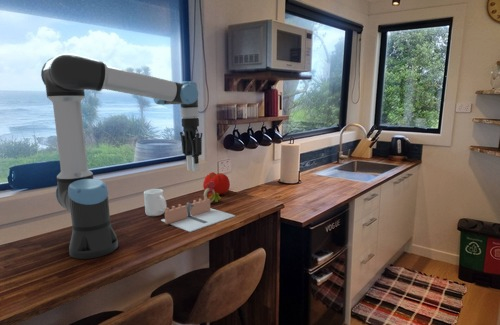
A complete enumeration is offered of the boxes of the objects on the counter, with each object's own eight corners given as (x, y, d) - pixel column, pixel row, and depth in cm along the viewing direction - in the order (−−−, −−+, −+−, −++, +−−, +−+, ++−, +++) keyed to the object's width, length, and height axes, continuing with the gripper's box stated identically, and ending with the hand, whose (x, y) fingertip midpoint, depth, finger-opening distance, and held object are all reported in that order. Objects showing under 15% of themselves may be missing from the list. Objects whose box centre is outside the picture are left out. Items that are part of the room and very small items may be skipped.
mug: (173, 214, 154) (172, 191, 153) (158, 219, 148) (156, 195, 146) (156, 209, 162) (155, 188, 160) (141, 214, 155) (139, 191, 154)
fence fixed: (167, 225, 140) (166, 208, 139) (165, 224, 141) (164, 208, 140) (191, 217, 149) (190, 202, 148) (189, 217, 150) (188, 201, 149)
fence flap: (192, 216, 149) (191, 202, 148) (189, 215, 150) (189, 201, 149) (210, 210, 156) (210, 196, 155) (208, 209, 157) (207, 196, 156)
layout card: (187, 232, 131) (187, 231, 131) (158, 221, 145) (158, 220, 145) (235, 216, 149) (235, 215, 149) (205, 207, 163) (205, 206, 163)
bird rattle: (214, 209, 167) (223, 197, 174) (207, 190, 162) (217, 179, 168) (204, 207, 171) (213, 196, 177) (197, 189, 165) (207, 178, 172)
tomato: (234, 194, 184) (233, 173, 182) (210, 199, 177) (209, 176, 175) (222, 189, 195) (222, 169, 193) (199, 193, 188) (198, 172, 186)
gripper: (208, 117, 150) (211, 171, 154) (185, 117, 161) (188, 167, 165) (194, 118, 144) (197, 173, 148) (172, 117, 155) (175, 169, 159)
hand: (192, 170), depth 156 cm, fingers open, 3 cm apart
